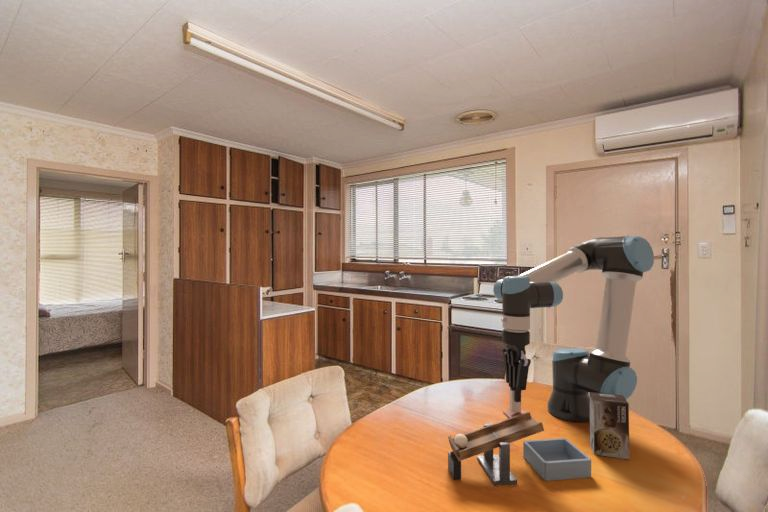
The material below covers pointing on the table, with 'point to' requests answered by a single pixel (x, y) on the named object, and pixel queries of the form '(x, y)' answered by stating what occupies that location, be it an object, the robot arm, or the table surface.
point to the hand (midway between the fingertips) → (515, 411)
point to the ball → (460, 441)
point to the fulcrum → (488, 465)
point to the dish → (556, 459)
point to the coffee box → (609, 425)
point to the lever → (497, 434)
